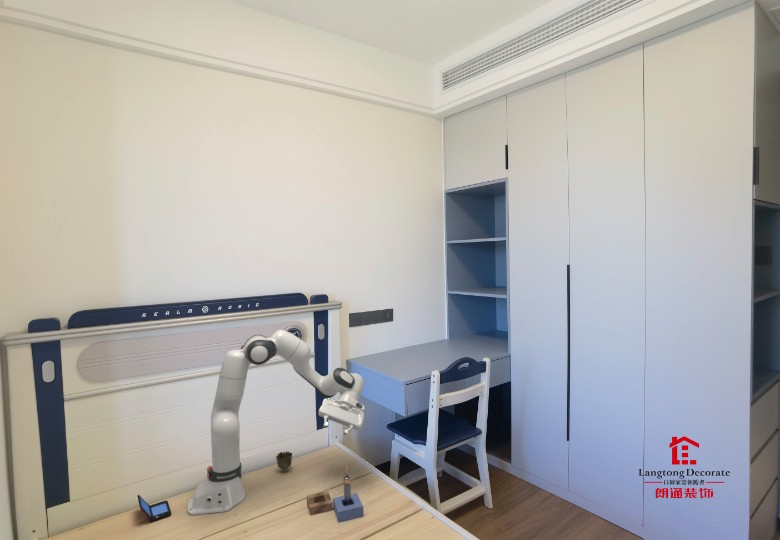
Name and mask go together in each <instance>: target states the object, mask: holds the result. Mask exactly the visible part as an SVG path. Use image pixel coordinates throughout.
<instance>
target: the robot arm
mask: <svg viewBox="0 0 780 540" xmlns="http://www.w3.org/2000/svg"><path fill="white" fill-rule="evenodd" d="M275 356H279V357H280V358H282V359H284V360H285V361H287V362H288V363H289V364H290V365H291V366H292V368H293V369H294V371H295V373H297V374H298V375H299V376H300V377H301V378H302V379H304V380H305V381H306V382H307V383H309V385H311V386H312V387H313V388H314V389H315V390H316V391H317V394H319V395H320V396H321V397H323V398H324V399H323V400H322V402H321V406H320V407H319V409H318V416H319V417H321V418H324V419H323V428H327V427H328V425H329V422H328V421H332V422H335V423H337V424H340V425H342V426H345V427H348V429H347V428H346V429H344V432H343V435H344V436H348V433H350V432H352V431H353V430H356V431H357V432H359V431H361V430H362V427H363V423H364V418H365V414H364V413H365V410H366V409H365V408H366V407H365V405H363V404H362V403H360V402H359V398H360V397H361V394H362V392H363V389H364V385H365V381H364V378H363V377H362V375H361V374H359V373H356V372H353V373H352V372H349V371H348V370H346V369H345V368H343V367H336V368H335V369H333V370H332V371H330V373H328V374H327V375H321V374H320V373H318V372H317V371H316V370H315V369H314V368H313V367H312V366H311V365H310V359H311V357H312V350H311V347H310V346H309V345H308V343H306V342H305V341H304V340H302V339H301V338H299V337H298V336H296V335H295V334H293V333H291V332H289V331H287V330H283V329H279V330H277V331H275V332H273V334H272V335H271V336H270V337H266V336H265V335H262V334H254V335H252V336H250V337H249V338H248V339H246V341H245V342H244V344H243V345H242V346H241V347H240V349H231V350H229V351H228V352H227V353H225V356H224V357H223V360H222V363H221V367H220V370H219V375H218V382H217V386H216V393H215V397H214V400H213V405H212V409H211V414H210V439H211V440H210V441H211V443H210V444H211V446H210V447H211V465H208V466H207V467H206V468H207V469H206V471H207V473H206V474H207V475H206V478H205V479H204V480H203V481H202V482H201V483H200V484H198V485H197V486H196V489H195V490H194V494H193V496H192V497H191V498H190V499H189V501H188V504H187V514H188V515H190V516H195V515H203V514H204V515H205V514H217V513H222V512H224V513H225V512H228V511H230V510H232V508H233V507H235V506H236V505H239V504H240V503H241V502H242V501H244V499H245V498H246V492H245V489H244V486H243V480H242V475H243V467H242V462H241V449H240V446H241V444H240V442H241V441H240V440H241V439H240V436H241V435H240V433H241V431H240V428H241V427H240V426H241V424H240V420H239V415H240V414H239V412H240V407H241V404H242V400H243V397H244V394H245V393H244V392H245V388H246V381H247V377H248V371H249V367H250V366H251V364H253V365H255V366H261V365H264V364H266V363H267V362H269V360H271V359H272V358H274V357H275ZM336 394H339V397H338V398H337V400H336V399H332V398H333V397H335V395H336Z"/></svg>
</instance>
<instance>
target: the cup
mask: <svg viewBox="0 0 780 540" xmlns="http://www.w3.org/2000/svg"><path fill="white" fill-rule="evenodd" d="M275 456H276V463H277V464H276V465H277V466H278V469H280V472H281V473H287V472H289V469H290V467H291V466H292V460H293V452H291V451H288V450H287V451H280V452H278V453H277V455H275Z"/></svg>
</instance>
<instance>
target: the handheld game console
mask: <svg viewBox="0 0 780 540" xmlns="http://www.w3.org/2000/svg"><path fill="white" fill-rule="evenodd" d="M137 501H138V506H139V509H140V511H141V512H142V513H143V514H144V515H145V516H146V517H147V518H148V519H149V522H150V523H155V522H157V521H160V520H163V519H166V518H169V517H171V516H172V511H171V508H170V504H169V501H168V500H162V501H160V502H156V503H153V504H149V503H147V502H146V500H144V498H143V497H142V496H141V495H139V494H137Z"/></svg>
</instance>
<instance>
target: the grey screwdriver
mask: <svg viewBox="0 0 780 540" xmlns="http://www.w3.org/2000/svg"><path fill="white" fill-rule="evenodd" d="M348 468H349V467H348V466H345V476H343V493H344V495H343V496H344V502H345V506H347V505H351V494H352V493H351V491H352V489H351V488H352V487H351V483H352V481H351V479H352V478H351V475H349V469H348Z"/></svg>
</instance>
